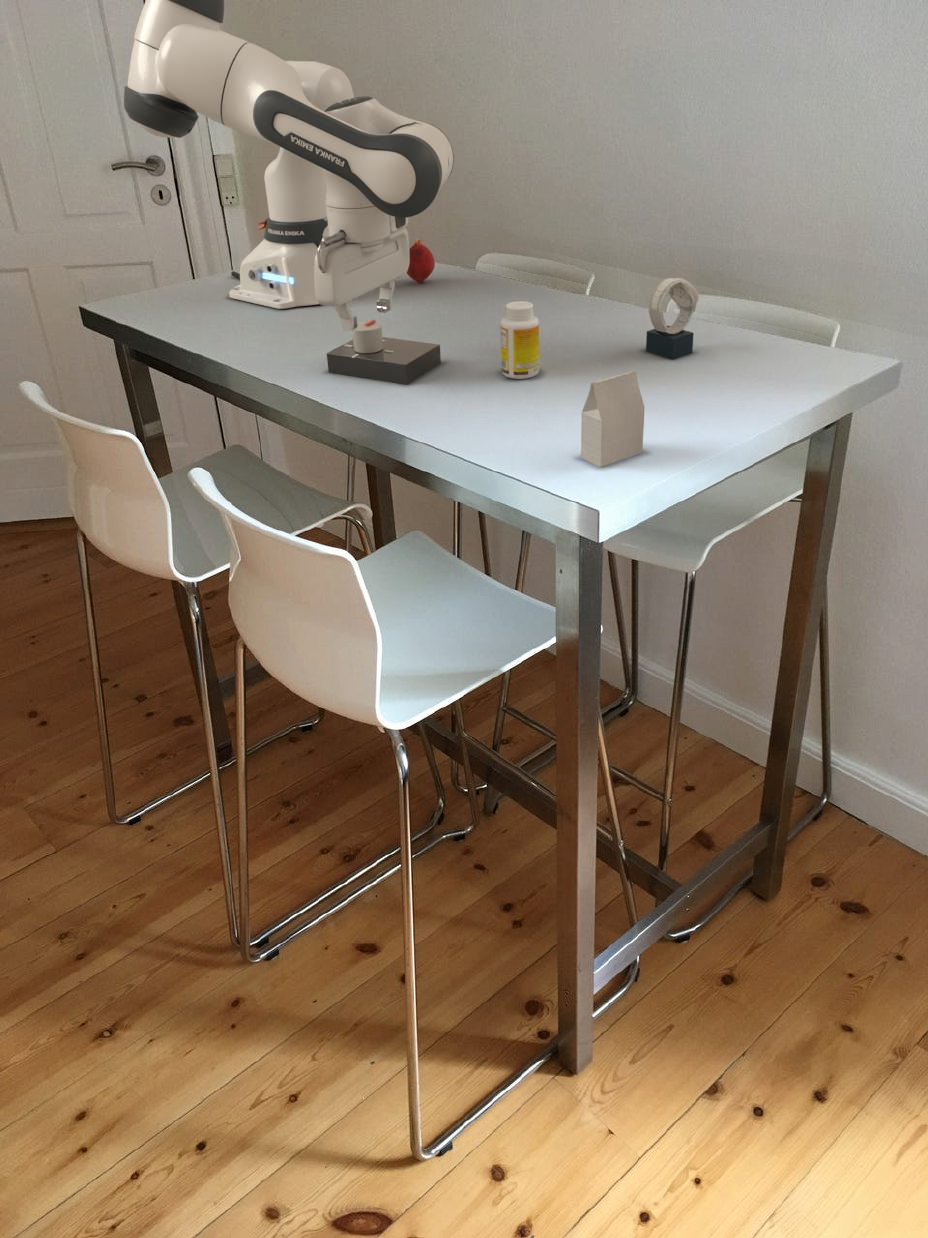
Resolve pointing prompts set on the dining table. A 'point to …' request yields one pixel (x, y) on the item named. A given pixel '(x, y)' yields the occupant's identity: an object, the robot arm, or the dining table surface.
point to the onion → (420, 262)
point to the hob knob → (368, 337)
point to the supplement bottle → (519, 341)
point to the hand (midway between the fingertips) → (367, 319)
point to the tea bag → (612, 420)
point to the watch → (673, 337)
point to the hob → (386, 360)
